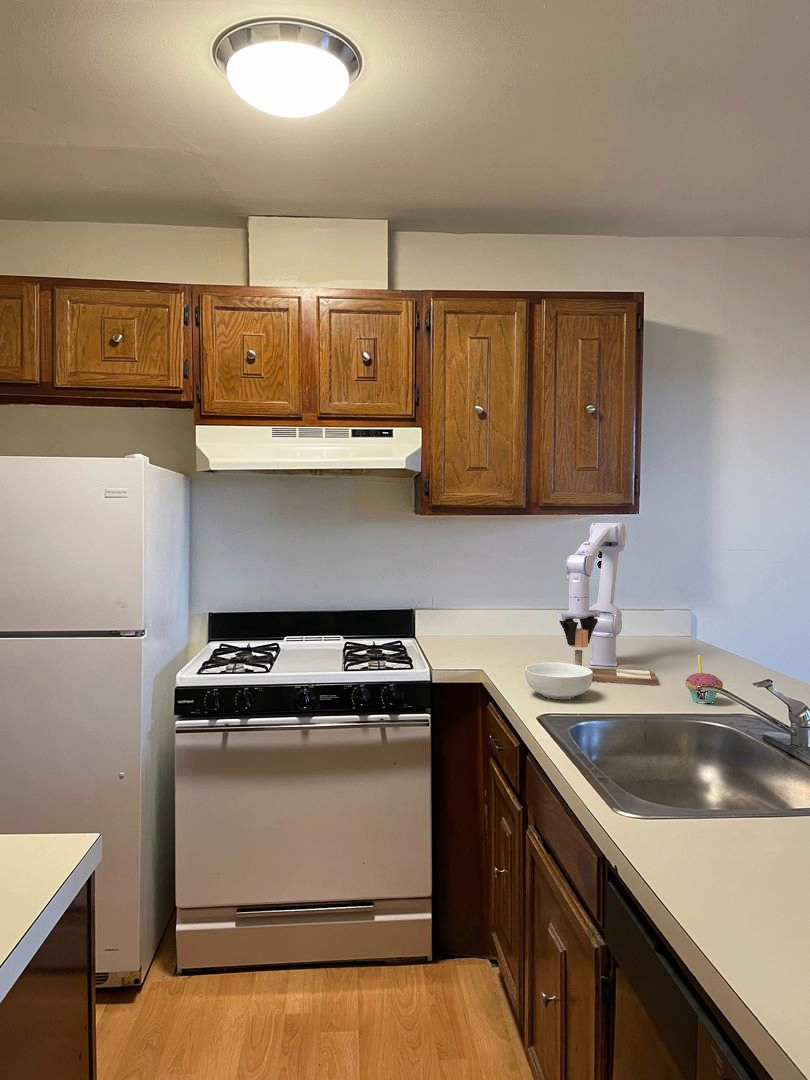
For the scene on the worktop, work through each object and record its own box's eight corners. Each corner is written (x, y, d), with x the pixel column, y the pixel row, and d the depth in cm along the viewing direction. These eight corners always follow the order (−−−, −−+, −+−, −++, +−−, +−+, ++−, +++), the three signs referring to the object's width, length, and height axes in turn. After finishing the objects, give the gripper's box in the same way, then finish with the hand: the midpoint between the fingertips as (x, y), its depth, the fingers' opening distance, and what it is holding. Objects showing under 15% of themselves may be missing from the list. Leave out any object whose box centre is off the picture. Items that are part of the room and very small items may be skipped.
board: (554, 671, 212) (554, 645, 212) (654, 676, 205) (654, 650, 205) (552, 679, 202) (552, 652, 202) (657, 685, 194) (657, 658, 194)
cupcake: (677, 699, 180) (678, 651, 180) (704, 696, 183) (704, 649, 183) (703, 707, 172) (703, 658, 172) (730, 704, 175) (731, 655, 175)
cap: (579, 643, 209) (579, 627, 208) (591, 646, 204) (591, 630, 204) (565, 645, 206) (565, 629, 206) (578, 648, 201) (578, 631, 201)
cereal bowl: (543, 707, 173) (543, 678, 173) (514, 690, 189) (514, 664, 189) (605, 701, 178) (605, 673, 178) (571, 686, 194) (572, 660, 194)
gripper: (587, 593, 212) (587, 639, 212) (550, 596, 204) (549, 643, 205) (605, 596, 205) (605, 643, 206) (567, 599, 198) (566, 648, 199)
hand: (578, 643), depth 205 cm, fingers closed on cap, 5 cm apart
